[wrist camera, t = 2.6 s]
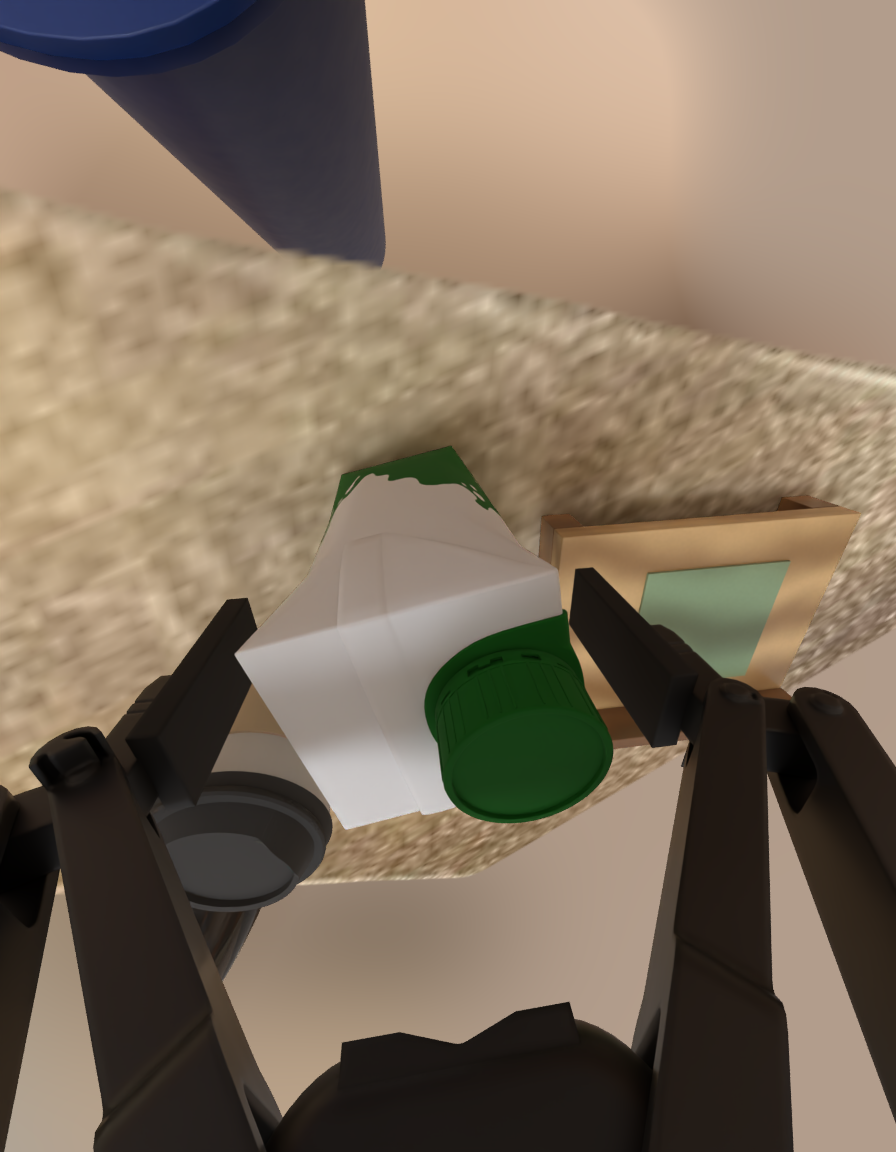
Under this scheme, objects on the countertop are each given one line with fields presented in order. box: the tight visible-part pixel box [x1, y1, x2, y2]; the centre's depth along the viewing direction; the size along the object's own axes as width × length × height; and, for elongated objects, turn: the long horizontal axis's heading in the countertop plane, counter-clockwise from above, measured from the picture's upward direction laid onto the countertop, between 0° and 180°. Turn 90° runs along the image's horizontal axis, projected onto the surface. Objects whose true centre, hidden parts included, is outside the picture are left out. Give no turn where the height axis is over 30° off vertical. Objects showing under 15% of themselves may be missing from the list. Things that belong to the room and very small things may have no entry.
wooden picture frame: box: [539, 495, 861, 749], centre depth 29 cm, size 16×20×7 cm
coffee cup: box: [150, 684, 332, 912], centre depth 25 cm, size 9×9×15 cm
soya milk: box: [235, 446, 613, 830], centre depth 18 cm, size 9×9×20 cm
